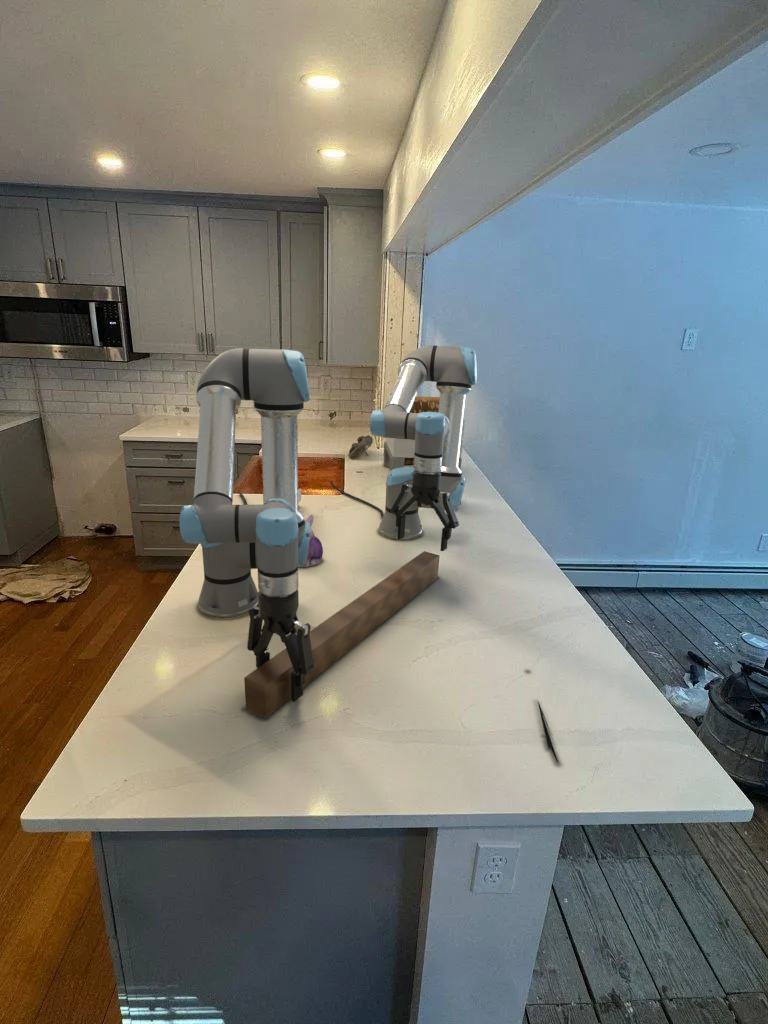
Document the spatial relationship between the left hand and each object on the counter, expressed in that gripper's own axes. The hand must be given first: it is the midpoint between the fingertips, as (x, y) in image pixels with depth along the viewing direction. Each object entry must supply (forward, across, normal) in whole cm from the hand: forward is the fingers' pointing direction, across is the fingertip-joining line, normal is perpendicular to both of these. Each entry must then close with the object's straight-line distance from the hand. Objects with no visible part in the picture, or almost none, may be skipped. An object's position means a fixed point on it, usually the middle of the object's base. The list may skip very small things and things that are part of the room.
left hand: (280, 689), depth 115 cm
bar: (+1, 0, +30) cm, 30 cm away
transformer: (+1, -55, +164) cm, 173 cm away
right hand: (-12, 0, +60) cm, 61 cm away
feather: (+1, +46, +25) cm, 52 cm away
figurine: (+1, -35, +53) cm, 64 cm away
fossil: (+1, -97, +175) cm, 200 cm away
